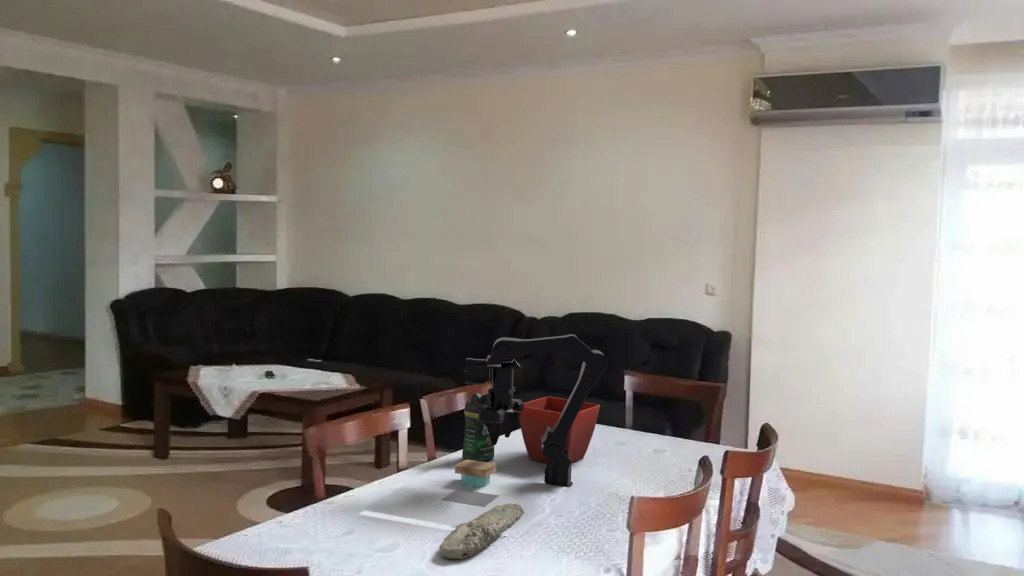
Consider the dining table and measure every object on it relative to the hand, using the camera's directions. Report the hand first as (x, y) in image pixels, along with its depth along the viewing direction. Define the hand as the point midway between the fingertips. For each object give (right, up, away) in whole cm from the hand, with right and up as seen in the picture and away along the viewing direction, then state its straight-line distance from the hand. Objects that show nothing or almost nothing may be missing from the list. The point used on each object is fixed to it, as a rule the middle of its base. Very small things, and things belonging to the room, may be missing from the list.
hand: (500, 440), depth 233 cm
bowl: (-7, -12, -2) cm, 14 cm away
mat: (-8, -13, -15) cm, 21 cm away
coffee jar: (-7, -10, +25) cm, 28 cm away
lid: (-7, -8, -2) cm, 11 cm away
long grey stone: (-3, -15, -38) cm, 41 cm away
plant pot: (+17, -11, +28) cm, 35 cm away
